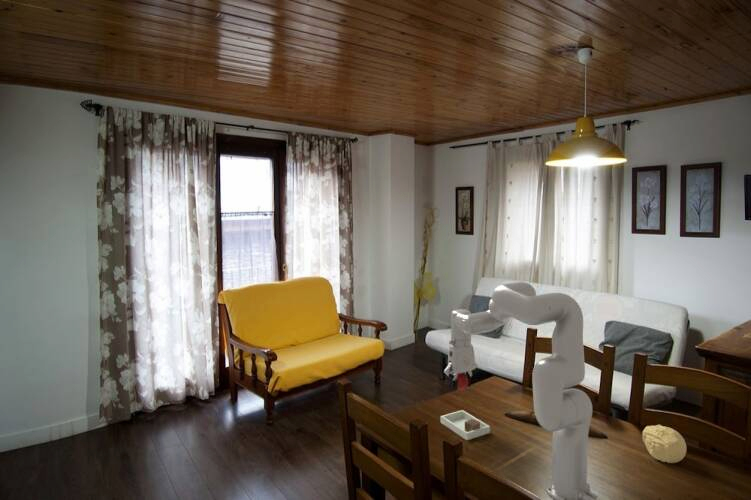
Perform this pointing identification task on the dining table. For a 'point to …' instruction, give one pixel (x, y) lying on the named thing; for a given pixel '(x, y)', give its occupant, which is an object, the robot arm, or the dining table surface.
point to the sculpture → (664, 443)
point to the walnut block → (471, 425)
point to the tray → (463, 424)
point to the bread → (531, 417)
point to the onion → (461, 381)
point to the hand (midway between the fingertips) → (460, 386)
